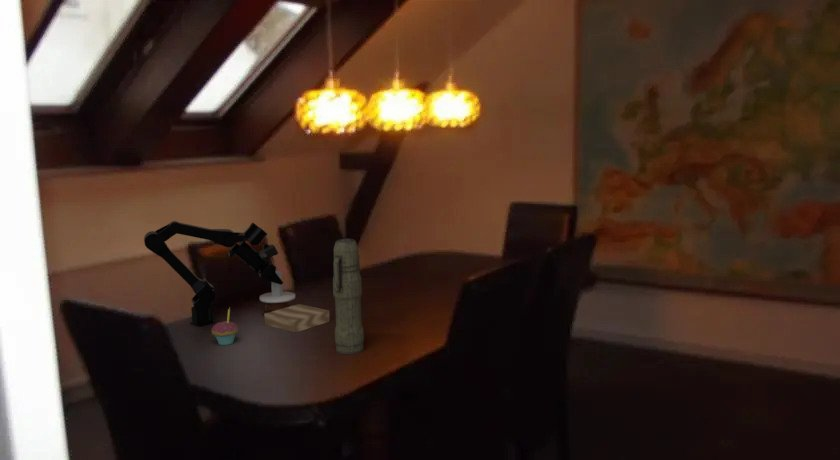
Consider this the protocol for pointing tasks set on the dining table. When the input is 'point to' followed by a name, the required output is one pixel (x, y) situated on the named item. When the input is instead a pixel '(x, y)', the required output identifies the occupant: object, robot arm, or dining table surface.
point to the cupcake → (225, 331)
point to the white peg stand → (277, 293)
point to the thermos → (347, 297)
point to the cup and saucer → (274, 307)
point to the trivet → (296, 318)
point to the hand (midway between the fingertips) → (280, 281)
